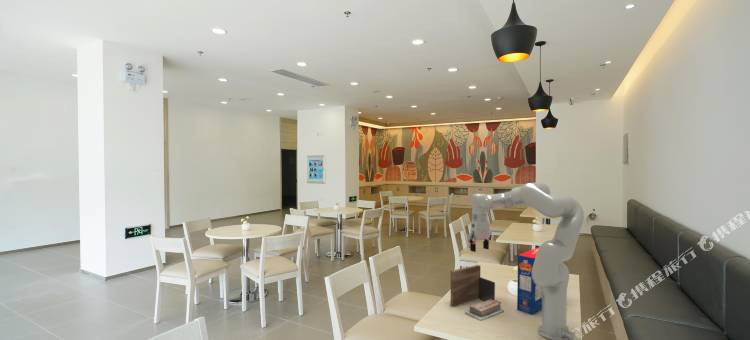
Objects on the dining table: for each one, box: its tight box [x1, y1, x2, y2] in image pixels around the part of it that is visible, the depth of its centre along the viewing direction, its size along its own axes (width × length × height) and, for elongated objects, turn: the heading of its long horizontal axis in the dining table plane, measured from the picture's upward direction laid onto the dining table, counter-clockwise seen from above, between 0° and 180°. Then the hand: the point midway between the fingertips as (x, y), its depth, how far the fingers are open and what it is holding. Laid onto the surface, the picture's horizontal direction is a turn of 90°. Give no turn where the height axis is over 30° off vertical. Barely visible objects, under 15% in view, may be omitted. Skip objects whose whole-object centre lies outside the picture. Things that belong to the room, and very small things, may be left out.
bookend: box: [478, 276, 502, 304], centre depth 190 cm, size 10×6×12 cm, turn 32°
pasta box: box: [516, 246, 543, 316], centre depth 185 cm, size 28×8×28 cm, turn 132°
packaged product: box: [464, 299, 505, 322], centre depth 176 cm, size 18×5×10 cm
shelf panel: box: [450, 264, 481, 308], centre depth 189 cm, size 2×20×18 cm, turn 122°
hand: (479, 250), depth 186 cm, fingers open, 9 cm apart
